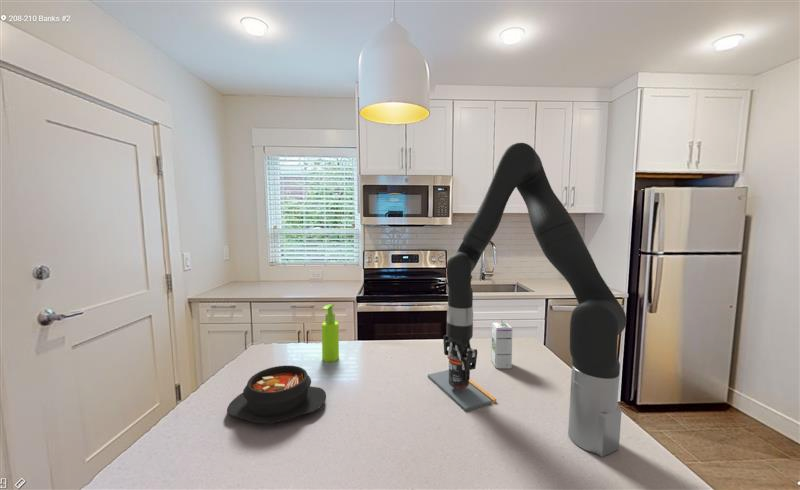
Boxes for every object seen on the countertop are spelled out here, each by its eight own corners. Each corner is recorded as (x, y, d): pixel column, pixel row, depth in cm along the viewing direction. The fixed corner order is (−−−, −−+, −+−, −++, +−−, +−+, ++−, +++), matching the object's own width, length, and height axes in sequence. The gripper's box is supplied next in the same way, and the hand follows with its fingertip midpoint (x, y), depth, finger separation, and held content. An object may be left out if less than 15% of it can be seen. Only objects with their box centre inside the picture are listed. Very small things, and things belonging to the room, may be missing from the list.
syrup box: (512, 368, 108) (513, 327, 107) (494, 368, 108) (496, 327, 107) (506, 361, 114) (508, 322, 112) (490, 361, 114) (491, 321, 113)
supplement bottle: (467, 379, 96) (468, 343, 95) (470, 390, 90) (470, 352, 89) (447, 378, 96) (448, 343, 96) (448, 389, 91) (449, 351, 90)
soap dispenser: (317, 361, 112) (316, 306, 110) (327, 353, 119) (327, 301, 117) (332, 364, 110) (331, 308, 109) (341, 355, 117) (341, 303, 115)
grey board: (496, 401, 88) (496, 398, 88) (465, 411, 84) (465, 408, 84) (454, 370, 106) (455, 368, 106) (427, 376, 102) (427, 374, 102)
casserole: (330, 387, 95) (330, 360, 94) (320, 428, 77) (319, 395, 76) (244, 390, 93) (243, 363, 92) (212, 433, 74) (211, 399, 74)
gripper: (486, 326, 87) (484, 385, 88) (456, 312, 100) (455, 363, 101) (464, 330, 84) (462, 390, 85) (435, 315, 97) (435, 368, 98)
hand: (458, 375), depth 93 cm, fingers closed on supplement bottle, 6 cm apart
